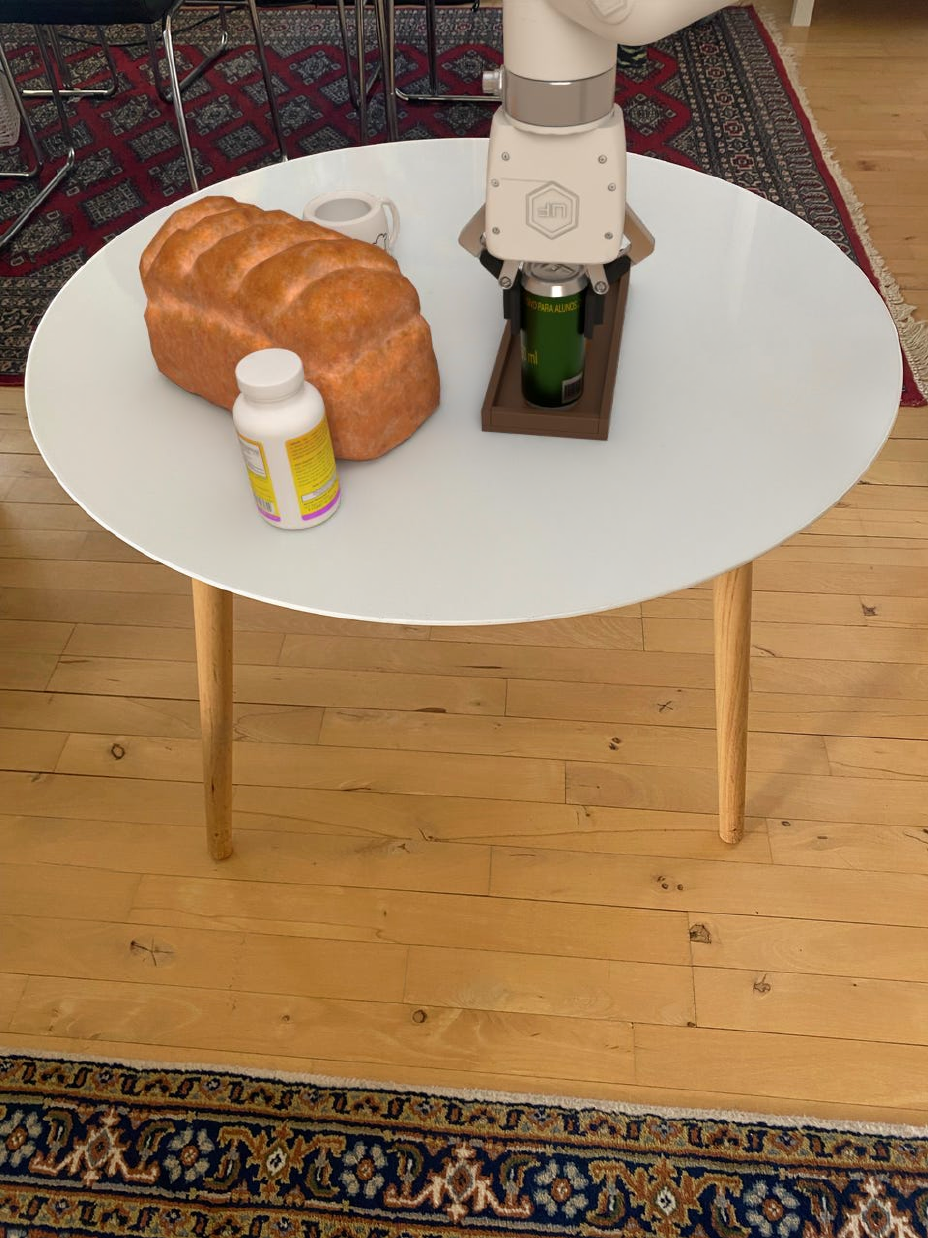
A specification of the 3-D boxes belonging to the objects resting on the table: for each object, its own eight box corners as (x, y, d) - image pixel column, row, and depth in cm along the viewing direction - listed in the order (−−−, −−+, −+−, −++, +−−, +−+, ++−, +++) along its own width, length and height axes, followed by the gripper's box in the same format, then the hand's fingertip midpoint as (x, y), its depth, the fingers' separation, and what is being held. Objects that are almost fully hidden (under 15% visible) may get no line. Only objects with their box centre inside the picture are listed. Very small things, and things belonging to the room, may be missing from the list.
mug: (355, 310, 98) (344, 234, 92) (294, 286, 101) (280, 211, 95) (432, 260, 104) (426, 185, 98) (372, 239, 107) (363, 166, 102)
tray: (629, 283, 99) (631, 263, 97) (607, 440, 82) (608, 420, 80) (524, 277, 100) (524, 258, 99) (481, 431, 84) (480, 410, 82)
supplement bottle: (349, 479, 80) (325, 340, 71) (333, 535, 76) (306, 395, 66) (268, 476, 81) (234, 338, 71) (249, 532, 76) (210, 393, 67)
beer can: (595, 393, 85) (603, 263, 77) (557, 423, 83) (561, 292, 74) (546, 371, 88) (549, 243, 79) (508, 400, 85) (506, 270, 77)
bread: (251, 311, 98) (215, 153, 87) (461, 399, 87) (451, 230, 75) (143, 378, 91) (88, 215, 80) (356, 484, 80) (328, 311, 68)
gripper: (424, 109, 66) (442, 347, 79) (685, 116, 63) (657, 360, 77) (446, 68, 71) (459, 298, 84) (688, 72, 68) (662, 309, 82)
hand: (553, 325), depth 80 cm, fingers closed on beer can, 5 cm apart
